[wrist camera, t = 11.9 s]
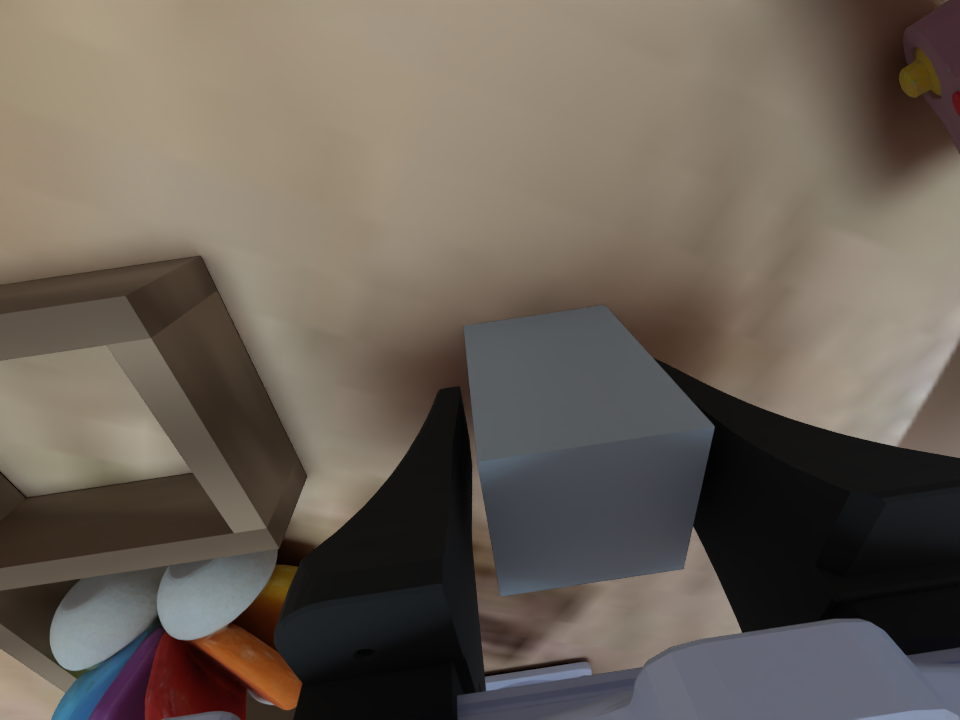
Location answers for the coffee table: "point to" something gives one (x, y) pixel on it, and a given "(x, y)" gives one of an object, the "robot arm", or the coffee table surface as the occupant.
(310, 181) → the coffee table surface
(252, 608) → the rainbow petal rattle
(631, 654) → the coffee table surface
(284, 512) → the frame
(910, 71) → the pink toy vehicle
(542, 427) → the block
